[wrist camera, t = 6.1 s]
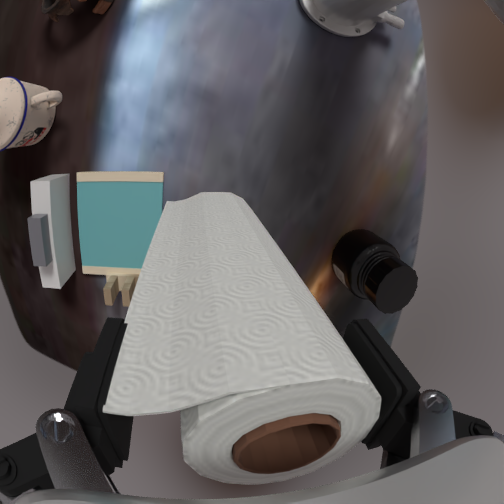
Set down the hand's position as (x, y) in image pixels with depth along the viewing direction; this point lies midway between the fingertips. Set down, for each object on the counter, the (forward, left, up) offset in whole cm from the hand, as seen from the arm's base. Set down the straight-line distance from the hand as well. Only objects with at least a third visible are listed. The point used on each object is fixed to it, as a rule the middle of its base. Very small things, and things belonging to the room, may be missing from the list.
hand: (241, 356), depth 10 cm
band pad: (+12, +4, -30) cm, 33 cm away
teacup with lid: (+25, -12, -30) cm, 41 cm away
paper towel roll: (0, 0, -18) cm, 18 cm away
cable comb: (+9, +12, -30) cm, 34 cm away
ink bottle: (-23, +7, -30) cm, 39 cm away
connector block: (+21, +4, -30) cm, 37 cm away
